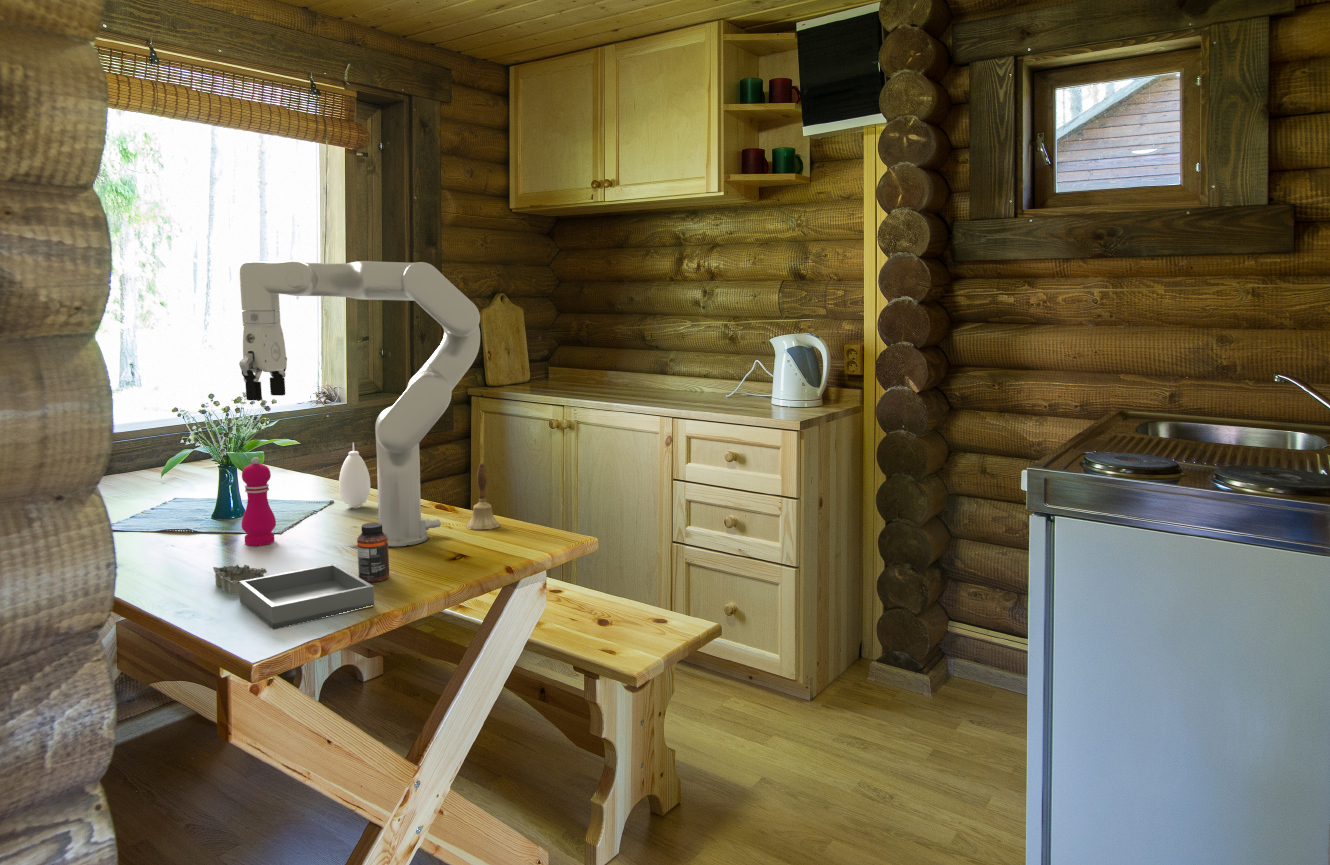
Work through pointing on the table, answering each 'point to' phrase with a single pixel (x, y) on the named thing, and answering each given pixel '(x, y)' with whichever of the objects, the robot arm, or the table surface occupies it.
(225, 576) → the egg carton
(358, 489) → the air blower bulb
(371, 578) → the supplement bottle
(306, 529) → the table surface
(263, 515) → the pepper mill
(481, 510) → the hand bell
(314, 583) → the tray
